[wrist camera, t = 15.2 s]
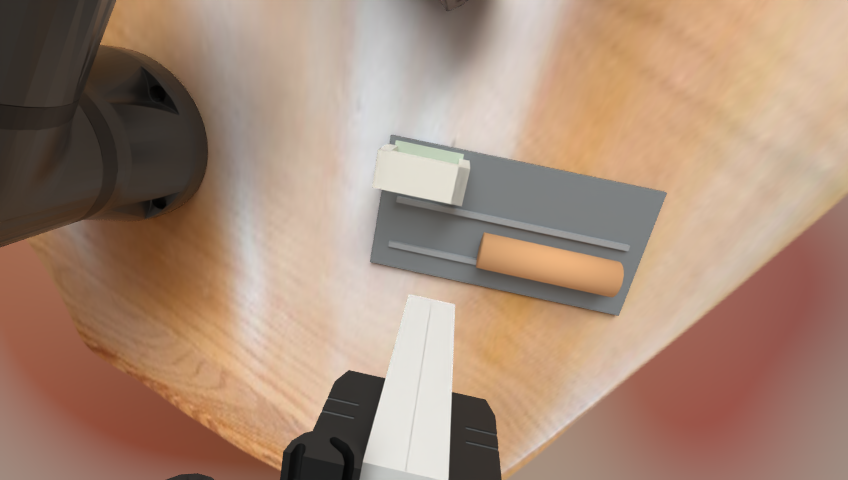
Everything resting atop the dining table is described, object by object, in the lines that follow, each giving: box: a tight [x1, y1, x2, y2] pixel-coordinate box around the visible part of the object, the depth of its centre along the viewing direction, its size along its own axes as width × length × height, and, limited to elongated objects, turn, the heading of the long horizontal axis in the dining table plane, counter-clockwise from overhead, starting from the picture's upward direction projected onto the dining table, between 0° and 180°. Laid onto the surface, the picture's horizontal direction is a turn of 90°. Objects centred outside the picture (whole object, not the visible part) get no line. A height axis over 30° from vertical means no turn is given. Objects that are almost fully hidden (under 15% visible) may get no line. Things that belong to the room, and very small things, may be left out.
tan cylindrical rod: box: [476, 232, 624, 297], centre depth 37 cm, size 12×3×3 cm, turn 79°
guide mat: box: [370, 135, 667, 316], centre depth 38 cm, size 24×12×1 cm, turn 79°
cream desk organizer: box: [372, 144, 470, 206], centre depth 35 cm, size 3×7×4 cm, turn 79°
